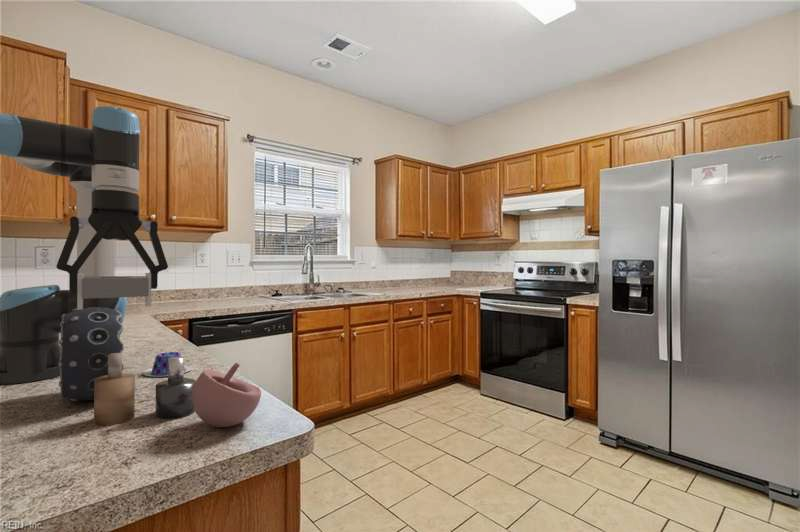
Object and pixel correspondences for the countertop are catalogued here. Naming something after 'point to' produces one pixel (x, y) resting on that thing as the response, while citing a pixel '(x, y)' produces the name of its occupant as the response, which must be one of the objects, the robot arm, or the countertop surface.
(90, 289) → the square hole block
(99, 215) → the robot arm
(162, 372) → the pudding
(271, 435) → the countertop surface
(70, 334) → the dark grey piece
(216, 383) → the mortar and pestle
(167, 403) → the dark bottle with stopper
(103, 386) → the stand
